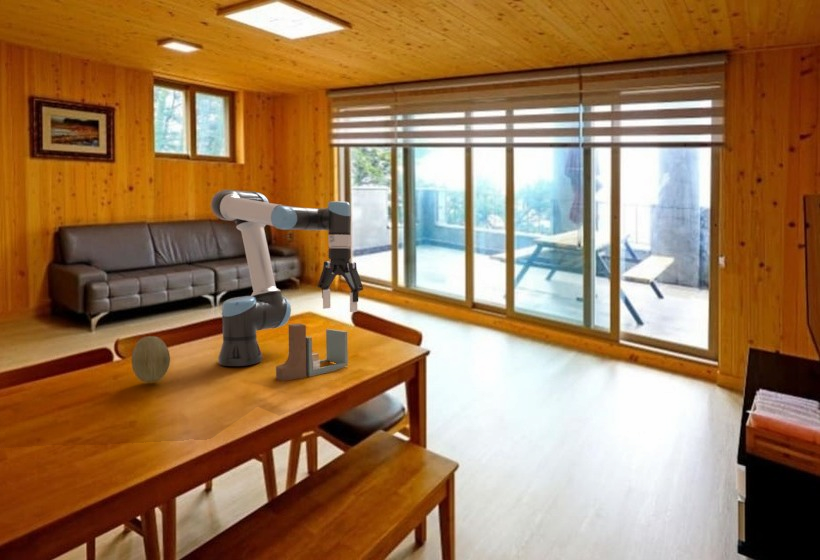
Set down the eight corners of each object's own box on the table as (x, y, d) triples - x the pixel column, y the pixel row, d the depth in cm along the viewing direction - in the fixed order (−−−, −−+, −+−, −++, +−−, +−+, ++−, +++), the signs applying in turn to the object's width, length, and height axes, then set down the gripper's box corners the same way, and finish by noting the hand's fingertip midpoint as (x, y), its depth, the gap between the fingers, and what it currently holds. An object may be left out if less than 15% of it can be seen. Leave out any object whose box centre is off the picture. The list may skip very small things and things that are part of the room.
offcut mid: (299, 366, 190) (299, 359, 190) (305, 364, 193) (305, 357, 192) (313, 368, 186) (313, 361, 186) (319, 366, 189) (319, 360, 188)
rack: (291, 372, 190) (290, 335, 189) (329, 364, 203) (328, 329, 202) (309, 376, 183) (308, 338, 183) (347, 367, 196) (347, 331, 196)
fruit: (178, 378, 182) (176, 333, 181) (152, 387, 171) (150, 339, 170) (150, 376, 186) (149, 332, 185) (123, 384, 175) (121, 337, 174)
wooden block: (280, 382, 178) (280, 327, 176) (275, 379, 182) (275, 325, 180) (306, 378, 183) (306, 325, 182) (301, 375, 187) (300, 323, 185)
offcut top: (299, 359, 190) (299, 353, 190) (306, 357, 192) (305, 351, 192) (312, 361, 186) (311, 355, 186) (318, 360, 188) (318, 353, 188)
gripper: (307, 247, 191) (307, 307, 193) (357, 248, 175) (357, 314, 177) (324, 247, 197) (324, 306, 199) (373, 248, 181) (373, 312, 182)
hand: (339, 310), depth 188 cm, fingers open, 13 cm apart
